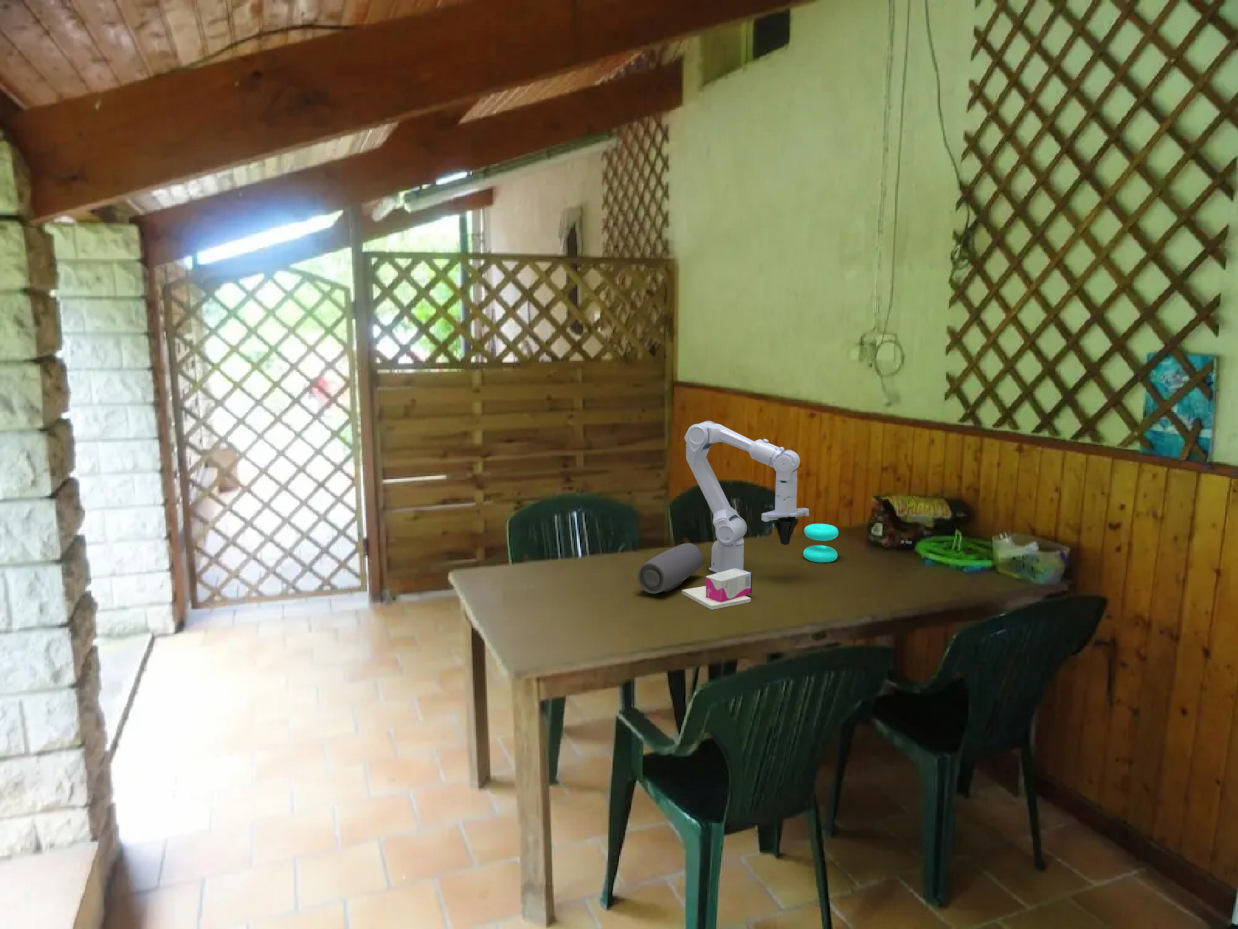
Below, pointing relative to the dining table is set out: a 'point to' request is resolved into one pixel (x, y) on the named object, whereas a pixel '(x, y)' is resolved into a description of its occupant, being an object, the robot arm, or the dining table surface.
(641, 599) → the dining table surface
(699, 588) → the mat
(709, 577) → the supplement box
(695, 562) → the bluetooth speaker
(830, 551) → the donuts
